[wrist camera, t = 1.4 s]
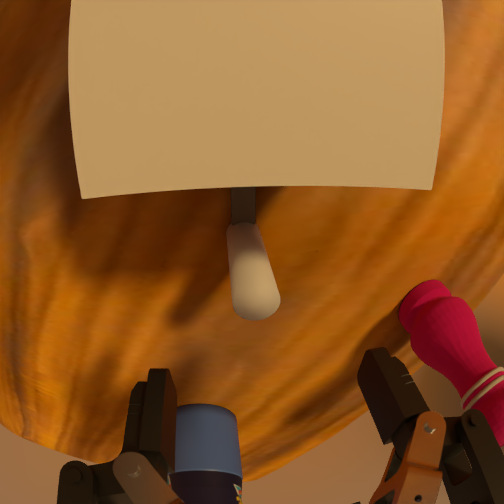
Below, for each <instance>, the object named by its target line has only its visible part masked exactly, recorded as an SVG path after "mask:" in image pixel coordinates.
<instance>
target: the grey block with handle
mask: <svg viewBox="0 0 504 504" xmlns="http://www.w3.org/2000/svg"><path fill="white" fill-rule="evenodd" d="M255 208H256V186H251V187H231V221H232V222H231V223H230V224H229V226H228V228H227V231H226V236H227V247H228V259H229V270H230V280H231V291H232V301H233V308H234V310H235V312H236V313H237V314H238V315H239V316H240V317H242V318H244V319H247V320H261V319H265V318H267V317H269V316H271V315H272V314H273V313H274V312H275V311H276V310H277V309H278V307H279V305H280V295H279V292H278V289H277V285H276V282H275V279H274V276H273V272H272V269H271V266H270V263H269V259H268V256H267V253H266V250H265V247H264V243H263V240H262V237H261V234H260V231H259V227H258V225H257V224H256V223H255Z"/></svg>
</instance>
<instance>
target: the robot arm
mask: <svg viewBox="0 0 504 504" xmlns="http://www.w3.org/2000/svg"><path fill="white" fill-rule="evenodd" d="M357 379H358V384H359V387H360V389H361V391H362V394H363V396H364V398H365V401H366V403H367V405H368V408H369V410H370V413H371V415H372V417H373V420H374V422H375V425H376V426H377V429H378V432H379V434H380V437H381V439H382V442H383V444H384V445H385V444H388V443H391V442H393V445H394V448H393V449H392V452H391V456H390V458H389V461H388V464H387V467H386V470H385V472H384V475H383V477H382V480H381V483H380V485H379V486H378V488H377V489H376V491H375V492H374V494H373V496H372V498H371V499H370V502H369V504H435V503H436V499H437V496H438V492H439V488H440V485H441V481H442V480H443V482H444V485H445V488H446V491H447V494H448V497H449V500H450V503H451V504H504V455H503V453H502V450H501V448H500V446H499V444H498V442H497V440H496V438H495V436H494V433H493V431H492V429H491V427H490V425H489V423H488V421H487V420H486V418H485V416H484V414H483V413H482V412H481V411H479V410H477V409H469V410H467V411H465V412H464V414H463V415H462V416H460V417H447V418H446V417H442V416H441V415H440V414H438V413H437V412H434V411H430V409H429V408H428V407H427V404H426V402H425V401H424V399H423V397H422V395H421V393H420V391H419V390H418V388H417V386H416V384H415V383H414V382H413V379H412V377H411V375H409V372H408V370H407V368H406V367H405V365H404V364H403V363H402V362H401V361H400V360H399V359H398V358H396V357H390V355H389V353H388V351H387V350H386V348H384V347H380V348H375V349H369V350H367V351H366V352H365V355H364V357H363V360H362V363H361V365H360V368H359V370H358V375H357ZM129 404H130V405H129V408H128V415H127V421H126V428H125V435H124V442H123V448H122V451H121V453H120V454H119V456H118V457H117V458H115V459H114V460H112V461H110V462H107V463H102V464H96V465H90V466H87V465H86V464H85V463H83V462H81V461H70V462H68V463H66V464H65V465H64V466H63V467H62V469H61V471H60V476H59V485H58V496H57V504H185V503H184V502H183V501H182V500H181V499H180V498H179V497H178V496H177V494H176V493H175V492H174V491H173V490H172V489H171V488H170V486H169V485H168V484H167V475H168V473H175V443H176V415H177V395H176V389H175V386H174V383H173V380H172V377H171V373H170V370H169V369H168V368H165V369H158V368H151V369H150V370H149V373H148V380H147V382H140V381H138V382H137V384H136V385H135V387H134V388H133V390H132V391H131V396H130V402H129ZM464 450H465V451H464ZM465 452H466V454H465ZM466 455H467V456H466ZM467 457H468V458H467ZM468 459H469V461H468ZM469 462H470V463H469ZM470 464H471V466H470ZM471 467H472V468H471ZM353 504H360V502H356V503H353Z"/></svg>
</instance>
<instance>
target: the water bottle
mask: <svg viewBox="0 0 504 504" xmlns="http://www.w3.org/2000/svg"><path fill="white" fill-rule="evenodd" d="M242 479H243V477H242V468H241V458H240V449H239V440H238V430H237V420H236V416H235V415H234V414H233V413H232V412H231V411H230V410H228V409H226V408H223V407H220V406H216V405H210V404H188V405H183V406H180V407H177V415H176V443H175V473H168V475H167V484H168V485H169V486H170V488H171V489H172V490H173V491H174V492H175V493H176V494H177V496H178V497H179V498H180V499H181V500H182V501H183V502H184V503H185V504H242V500H241V496H242V495H241V494H242Z"/></svg>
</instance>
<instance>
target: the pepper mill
mask: <svg viewBox="0 0 504 504" xmlns="http://www.w3.org/2000/svg"><path fill="white" fill-rule="evenodd" d="M399 320H400V322H401V324H402V325H403V327H404V328H405V330H406V331H407V332H408V333H409V334H411V337H410V342H411V347H412V349H413V351H414V352H415V354H416V355H417V356H418V357H419V359H420V360H422V361H423V362H424V363H425V364H427V365H428V366H430V367H432V368H433V369H435V370H437V371H438V372H440V373H441V374H443V375H444V376H445V377H446V378H448V379H449V380H450V381H451V382H452V384H453V385H454V386H455V388H456V389H457V391H458V393H459V395H460V397H461V401H460V406H461V407H462V408H463V409H464V412H465V411H467V410H469V409H477V410H479V411H481V412H482V413H483V414H484V416H485V418H486V420H487V421H488V423H489V425H490V427H491V429H492V431H493V433H494V436H495V438H496V440H497V442H498V444H499V446H500V447H502V446H504V368H503V367H498V368H497V366H496V365H495V364H494V363H493V362H492V361H491V359H490V357H489V356H488V354H487V352H486V351H485V348H484V346H483V343H482V341H481V337H480V334H479V329H478V326H477V322H476V319H475V316H474V314H473V312H472V310H471V308H470V307H469V306H468V304H467V303H466V302H465V301H464V300H463V299H461V298H459V297H453V296H451V293H450V291H449V290H448V289H447V288H446V287H445V286H444V285H443V283H441V282H440V281H438V280H428V281H425V282H423V283H421V284H419V285H417V286H416V287H415V288H414V289H413V290H411V291H410V292H409V294H408V295H407V296H406V297H405V299H404V300H403V302H402V304H401V306H400V309H399Z"/></svg>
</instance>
